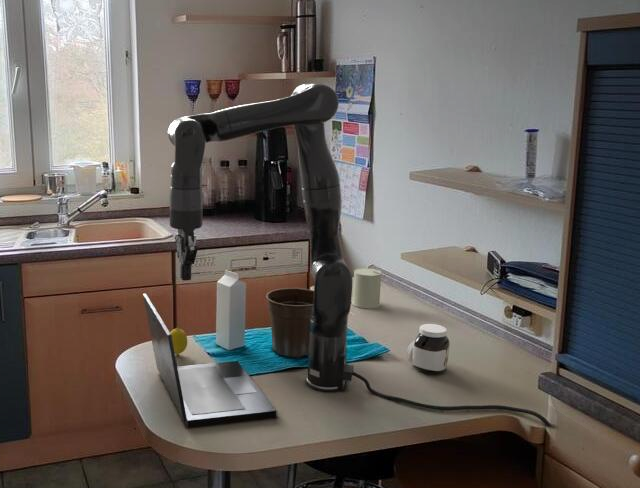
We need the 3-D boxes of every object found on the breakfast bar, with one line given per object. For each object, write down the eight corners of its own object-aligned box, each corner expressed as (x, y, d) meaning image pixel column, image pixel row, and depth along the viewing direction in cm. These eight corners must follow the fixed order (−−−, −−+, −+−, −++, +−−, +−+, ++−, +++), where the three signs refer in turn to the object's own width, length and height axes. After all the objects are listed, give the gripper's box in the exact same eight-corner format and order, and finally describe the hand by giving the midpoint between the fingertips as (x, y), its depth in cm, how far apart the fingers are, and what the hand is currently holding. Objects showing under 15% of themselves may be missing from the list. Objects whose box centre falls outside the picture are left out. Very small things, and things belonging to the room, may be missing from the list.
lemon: (180, 360, 201) (180, 332, 200) (163, 356, 204) (163, 328, 202) (191, 353, 206) (191, 326, 204) (174, 349, 209) (174, 323, 207)
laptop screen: (146, 293, 186) (142, 293, 186) (171, 334, 158) (167, 335, 158) (160, 367, 192) (157, 368, 192) (187, 420, 164) (183, 421, 163)
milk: (228, 350, 209) (230, 276, 204) (215, 344, 213) (216, 271, 208) (245, 345, 212) (246, 272, 207) (231, 339, 217) (233, 267, 212)
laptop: (237, 367, 197) (237, 360, 197) (276, 417, 169) (276, 410, 169) (160, 374, 192) (160, 367, 192) (187, 428, 164) (187, 420, 163)
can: (376, 310, 244) (378, 275, 242) (349, 306, 248) (351, 272, 245) (382, 302, 252) (384, 268, 250) (355, 298, 256) (357, 265, 254)
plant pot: (260, 357, 204) (261, 302, 200) (268, 337, 219) (270, 285, 215) (319, 363, 200) (322, 307, 196) (324, 342, 215) (326, 290, 212)
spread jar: (434, 379, 191) (438, 336, 188) (395, 367, 198) (398, 326, 196) (454, 365, 200) (458, 325, 197) (415, 354, 207) (418, 315, 204)
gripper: (209, 211, 163) (208, 286, 167) (194, 200, 175) (194, 270, 179) (176, 212, 161) (176, 288, 165) (164, 201, 173) (164, 272, 177)
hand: (185, 279), depth 172 cm, fingers closed
